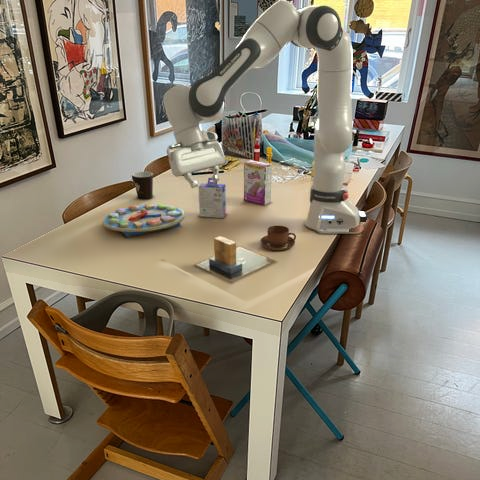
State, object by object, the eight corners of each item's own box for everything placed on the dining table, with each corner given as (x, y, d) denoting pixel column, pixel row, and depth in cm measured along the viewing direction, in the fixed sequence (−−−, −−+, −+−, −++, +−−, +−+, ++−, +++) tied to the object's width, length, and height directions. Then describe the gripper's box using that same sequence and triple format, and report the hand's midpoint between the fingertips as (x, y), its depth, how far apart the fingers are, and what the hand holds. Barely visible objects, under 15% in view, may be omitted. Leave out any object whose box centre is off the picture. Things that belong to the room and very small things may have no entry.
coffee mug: (157, 199, 208) (154, 176, 203) (137, 201, 206) (134, 178, 200) (151, 191, 217) (148, 169, 212) (132, 193, 215) (129, 171, 209)
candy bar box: (243, 200, 206) (243, 162, 198) (249, 197, 210) (250, 159, 201) (264, 206, 201) (265, 166, 192) (271, 202, 204) (272, 163, 195)
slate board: (239, 247, 165) (239, 246, 165) (274, 262, 156) (274, 260, 155) (195, 266, 153) (195, 264, 153) (230, 282, 144) (230, 281, 143)
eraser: (209, 264, 153) (207, 238, 148) (220, 259, 156) (219, 233, 151) (230, 274, 147) (230, 247, 142) (242, 269, 150) (242, 242, 145)
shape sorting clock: (167, 205, 201) (166, 191, 198) (197, 229, 179) (197, 214, 176) (94, 218, 189) (92, 203, 185) (117, 246, 166) (115, 229, 163)
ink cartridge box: (226, 213, 193) (226, 177, 185) (223, 218, 188) (222, 182, 181) (203, 212, 195) (201, 176, 187) (199, 216, 190) (197, 180, 182)
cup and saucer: (290, 238, 172) (291, 222, 169) (298, 252, 162) (299, 235, 159) (257, 240, 171) (257, 223, 167) (263, 254, 161) (264, 237, 157)
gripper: (170, 142, 141) (187, 188, 144) (220, 132, 153) (234, 175, 156) (159, 149, 145) (175, 194, 148) (208, 139, 158) (222, 180, 161)
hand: (206, 184), depth 152 cm, fingers open, 8 cm apart
